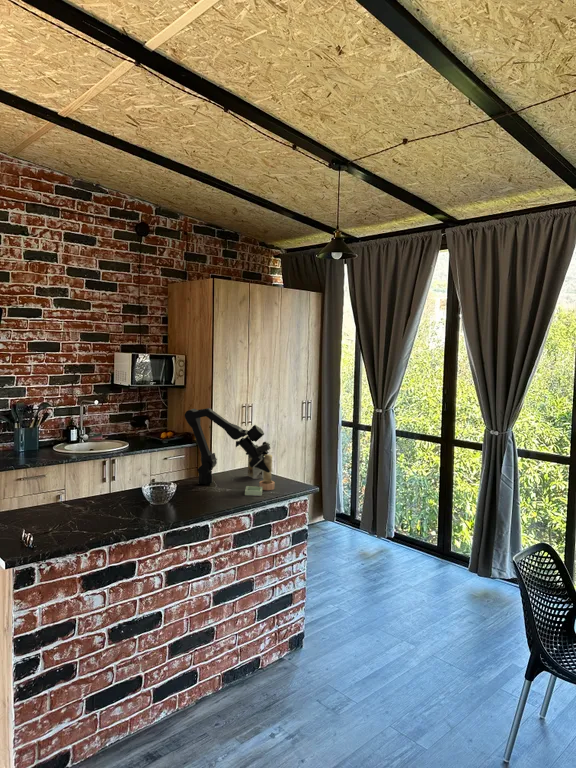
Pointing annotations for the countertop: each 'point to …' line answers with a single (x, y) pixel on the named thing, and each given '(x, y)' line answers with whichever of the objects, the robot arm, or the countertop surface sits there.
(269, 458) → the dowel
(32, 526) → the countertop surface
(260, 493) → the tray
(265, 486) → the holder
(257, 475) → the coffee box
